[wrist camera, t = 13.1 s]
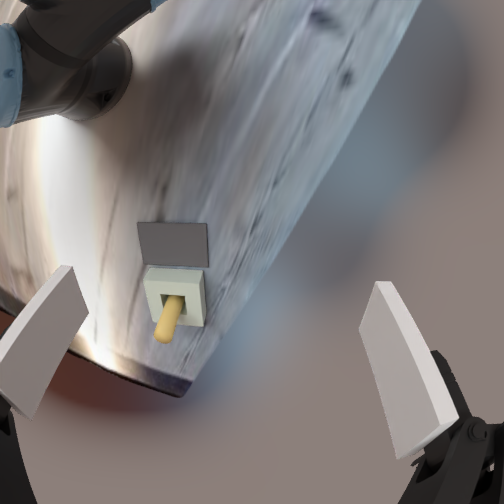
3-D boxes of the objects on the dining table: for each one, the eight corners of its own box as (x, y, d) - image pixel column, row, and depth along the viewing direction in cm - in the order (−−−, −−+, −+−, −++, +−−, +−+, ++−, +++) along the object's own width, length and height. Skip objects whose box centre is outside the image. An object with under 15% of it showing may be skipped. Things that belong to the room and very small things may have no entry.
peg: (172, 296, 52) (155, 342, 41) (170, 284, 50) (151, 329, 40) (187, 297, 52) (173, 344, 41) (185, 285, 50) (170, 331, 40)
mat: (144, 262, 48) (143, 263, 48) (137, 222, 44) (136, 223, 44) (208, 265, 48) (208, 267, 48) (206, 223, 44) (206, 224, 44)
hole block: (158, 308, 53) (153, 322, 50) (150, 267, 48) (143, 280, 45) (206, 312, 53) (203, 326, 50) (203, 270, 48) (199, 283, 45)
